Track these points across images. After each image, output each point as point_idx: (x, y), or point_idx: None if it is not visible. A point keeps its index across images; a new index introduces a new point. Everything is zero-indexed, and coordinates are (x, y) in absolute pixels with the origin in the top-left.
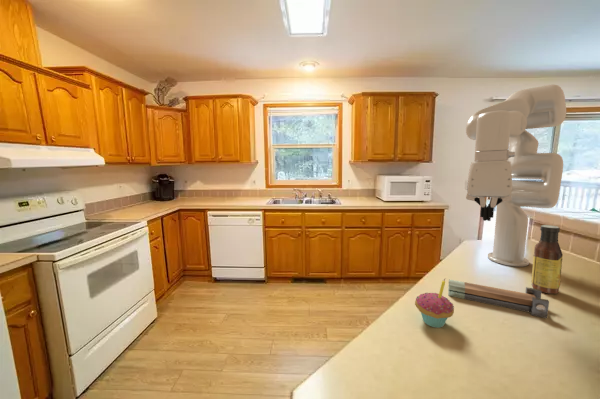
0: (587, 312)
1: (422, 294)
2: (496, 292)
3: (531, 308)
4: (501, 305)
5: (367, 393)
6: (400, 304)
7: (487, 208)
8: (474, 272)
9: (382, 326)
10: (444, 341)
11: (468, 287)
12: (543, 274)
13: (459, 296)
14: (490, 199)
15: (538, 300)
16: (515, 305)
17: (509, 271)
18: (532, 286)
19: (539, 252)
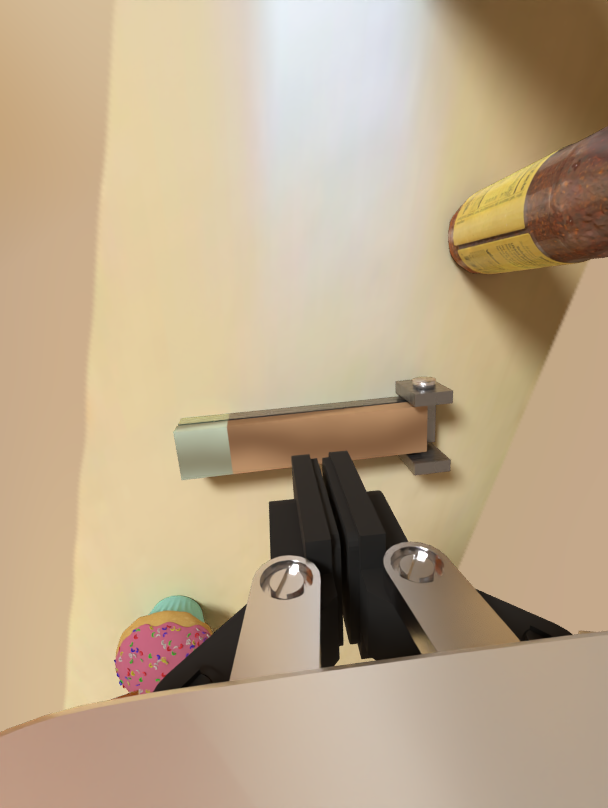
0: (535, 354)
1: (126, 674)
2: (323, 452)
3: (402, 454)
4: None
5: None
6: (76, 589)
7: (345, 582)
8: (257, 173)
9: (79, 692)
10: None
11: (242, 464)
12: (504, 266)
13: None
14: (422, 637)
15: (425, 473)
16: None
17: (402, 66)
18: (448, 238)
19: (555, 239)
